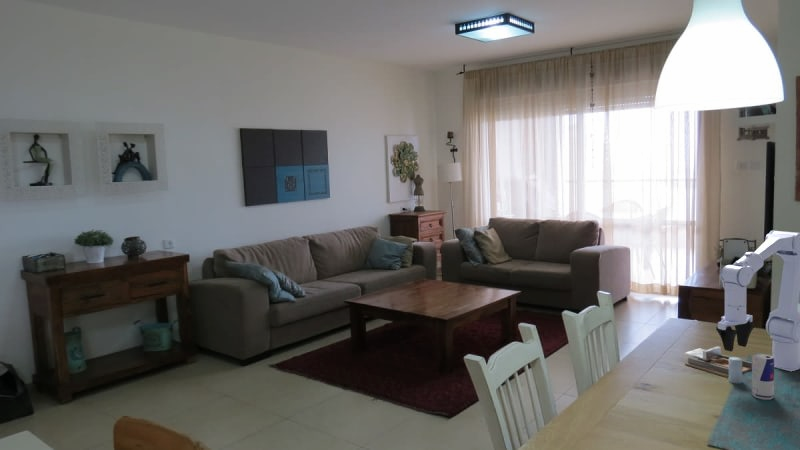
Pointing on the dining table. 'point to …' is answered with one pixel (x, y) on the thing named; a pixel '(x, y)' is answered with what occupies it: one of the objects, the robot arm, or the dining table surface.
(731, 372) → the light blue rounded cylinder
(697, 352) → the cover
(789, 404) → the dining table surface
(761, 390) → the energy drink
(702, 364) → the wooden square tray
